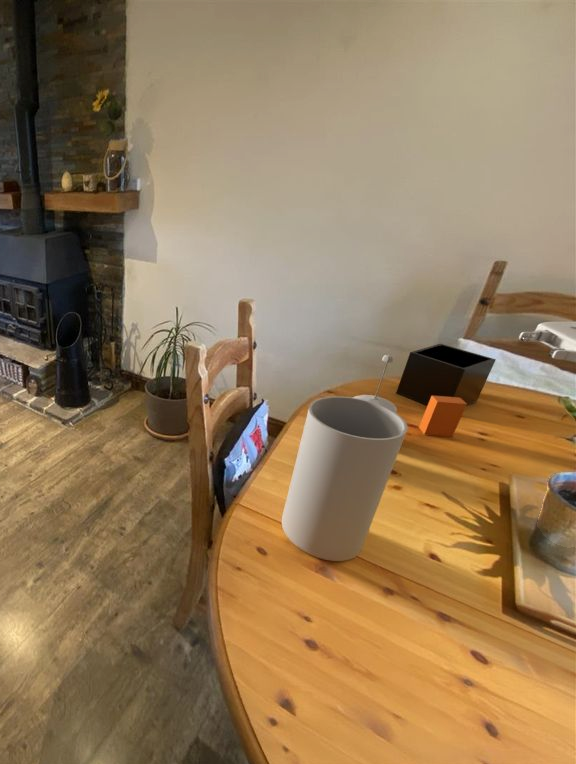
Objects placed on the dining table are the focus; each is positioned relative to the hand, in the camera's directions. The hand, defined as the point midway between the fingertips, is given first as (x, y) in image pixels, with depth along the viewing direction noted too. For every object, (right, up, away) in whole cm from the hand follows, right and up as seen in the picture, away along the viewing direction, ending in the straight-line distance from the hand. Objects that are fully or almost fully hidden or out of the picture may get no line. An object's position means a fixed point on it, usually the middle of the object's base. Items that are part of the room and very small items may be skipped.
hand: (536, 344), depth 86 cm
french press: (-33, -25, +6) cm, 42 cm away
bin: (+3, -12, +27) cm, 30 cm away
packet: (-9, -20, +14) cm, 26 cm away
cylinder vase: (-52, -35, -11) cm, 64 cm away
